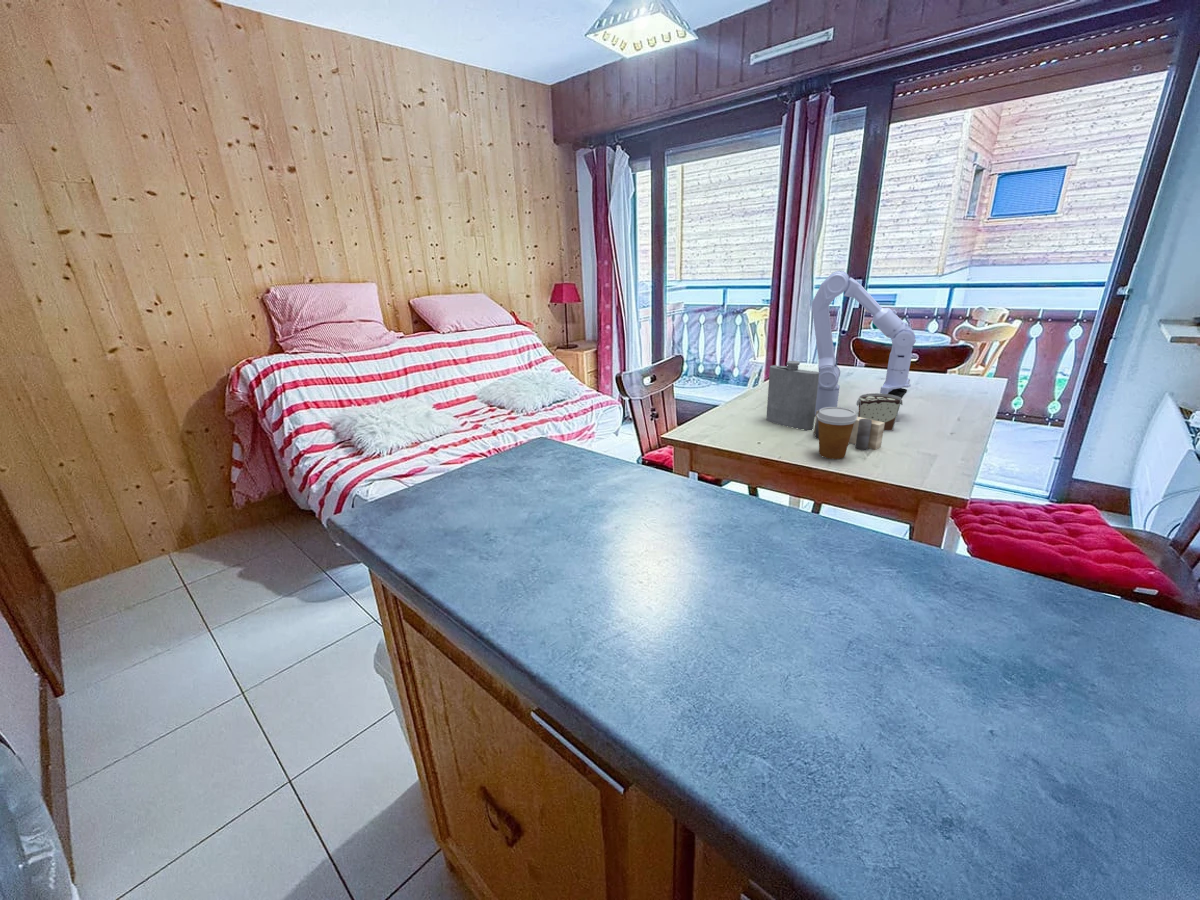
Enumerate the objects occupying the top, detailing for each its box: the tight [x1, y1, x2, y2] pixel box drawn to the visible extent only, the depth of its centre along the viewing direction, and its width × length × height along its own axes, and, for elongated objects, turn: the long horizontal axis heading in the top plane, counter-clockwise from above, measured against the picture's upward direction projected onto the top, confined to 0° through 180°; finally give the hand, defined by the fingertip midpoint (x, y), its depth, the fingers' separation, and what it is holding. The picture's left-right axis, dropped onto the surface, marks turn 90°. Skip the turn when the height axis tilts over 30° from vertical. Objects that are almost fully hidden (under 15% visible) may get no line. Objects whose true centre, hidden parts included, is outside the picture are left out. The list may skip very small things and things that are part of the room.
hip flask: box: [765, 360, 819, 431], centre depth 153 cm, size 16×4×20 cm, turn 38°
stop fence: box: [813, 410, 885, 451], centre depth 140 cm, size 18×6×8 cm, turn 37°
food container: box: [855, 392, 903, 432], centre depth 148 cm, size 12×6×10 cm, turn 84°
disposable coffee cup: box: [817, 406, 858, 460], centre depth 131 cm, size 10×10×12 cm
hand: (891, 411), depth 155 cm, fingers closed
